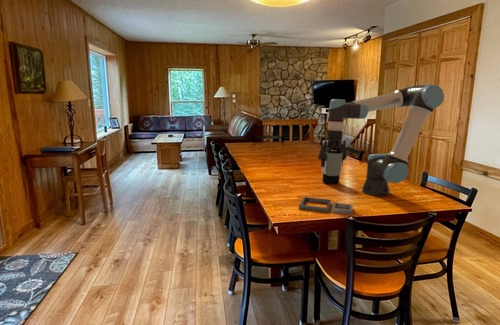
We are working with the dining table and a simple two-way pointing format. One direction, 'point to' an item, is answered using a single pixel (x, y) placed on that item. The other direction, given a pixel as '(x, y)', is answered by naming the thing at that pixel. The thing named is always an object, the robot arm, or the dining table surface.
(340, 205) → the grey diamond-shaped open frame
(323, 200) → the square hollow frame
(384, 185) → the robot arm
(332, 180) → the coffee jar
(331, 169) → the grey cup
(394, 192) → the dining table surface
